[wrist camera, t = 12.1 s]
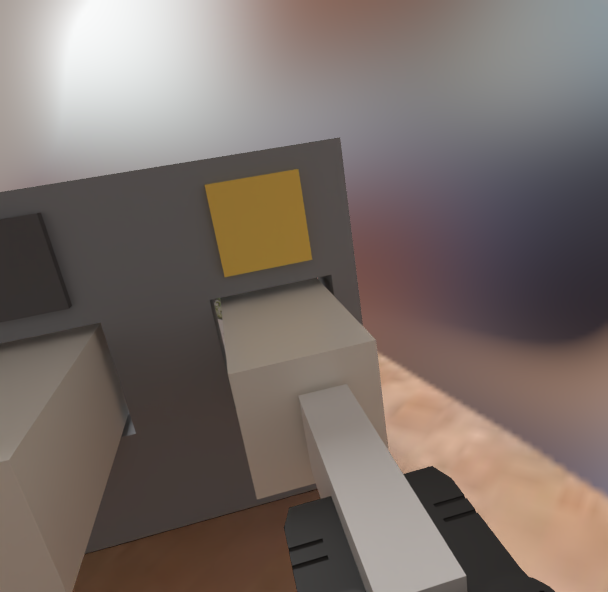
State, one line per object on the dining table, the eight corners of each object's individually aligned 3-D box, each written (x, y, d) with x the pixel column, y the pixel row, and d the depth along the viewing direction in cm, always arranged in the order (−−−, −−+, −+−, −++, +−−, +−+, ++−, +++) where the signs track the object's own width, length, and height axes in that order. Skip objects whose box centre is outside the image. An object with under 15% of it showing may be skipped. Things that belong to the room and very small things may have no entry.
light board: (-227, 648, 18) (-509, 274, 13) (-96, 502, 26) (-242, 232, 21) (383, 476, 22) (342, 136, 17) (337, 394, 30) (300, 145, 25)
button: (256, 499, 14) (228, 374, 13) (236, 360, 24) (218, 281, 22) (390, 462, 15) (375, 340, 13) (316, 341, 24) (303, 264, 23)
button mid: (-119, 655, 11) (-212, 513, 10) (35, 422, 21) (1, 335, 19) (69, 600, 12) (9, 459, 10) (132, 399, 21) (106, 314, 20)
